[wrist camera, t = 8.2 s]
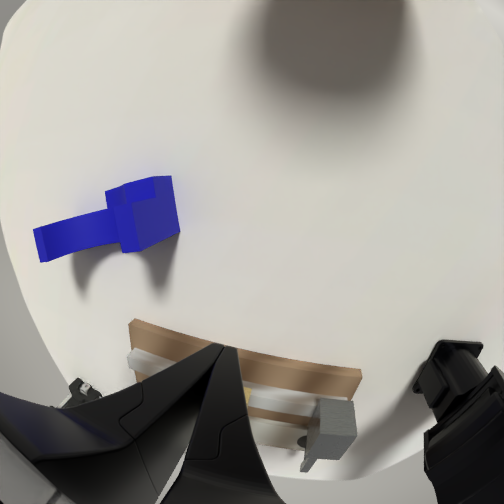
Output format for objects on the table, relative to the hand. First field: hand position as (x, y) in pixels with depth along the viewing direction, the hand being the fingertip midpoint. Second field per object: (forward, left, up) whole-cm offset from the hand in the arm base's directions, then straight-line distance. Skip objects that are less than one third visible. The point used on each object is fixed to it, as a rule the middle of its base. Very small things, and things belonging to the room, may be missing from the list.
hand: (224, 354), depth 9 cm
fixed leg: (-8, +16, -10) cm, 20 cm away
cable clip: (+14, -1, -12) cm, 18 cm away
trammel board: (+1, +16, -12) cm, 20 cm away
